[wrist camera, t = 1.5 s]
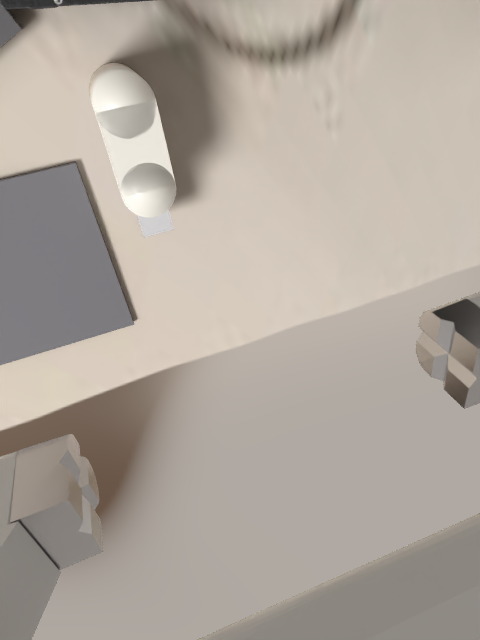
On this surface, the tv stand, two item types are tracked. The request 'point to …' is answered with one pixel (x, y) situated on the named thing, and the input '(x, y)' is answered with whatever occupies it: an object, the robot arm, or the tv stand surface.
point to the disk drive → (54, 3)
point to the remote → (7, 26)
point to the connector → (135, 144)
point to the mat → (53, 266)
